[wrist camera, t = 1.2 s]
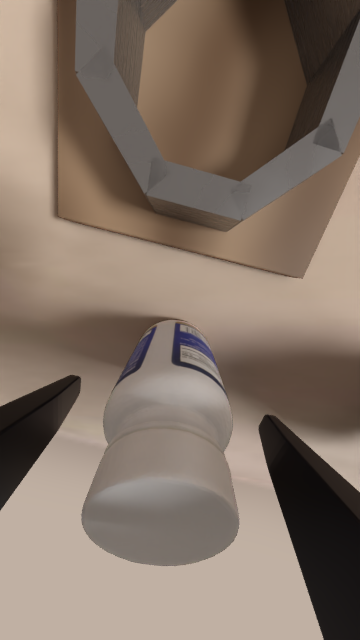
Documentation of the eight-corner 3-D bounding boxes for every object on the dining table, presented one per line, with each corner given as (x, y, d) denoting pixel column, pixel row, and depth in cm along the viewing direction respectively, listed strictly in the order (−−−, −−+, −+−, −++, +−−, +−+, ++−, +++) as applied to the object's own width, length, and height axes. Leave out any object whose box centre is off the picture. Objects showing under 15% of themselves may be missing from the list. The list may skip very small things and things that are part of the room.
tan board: (421, -17, 7) (460, -62, 6) (291, 277, 11) (302, 278, 10) (76, -149, 6) (56, -225, 5) (70, 220, 10) (57, 216, 9)
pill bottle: (151, 385, 14) (99, 584, 5) (129, 327, 12) (4, 477, 4) (215, 373, 13) (274, 570, 5) (202, 310, 11) (255, 439, 3)
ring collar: (378, -26, 6) (501, -209, 4) (274, 245, 9) (306, 238, 7) (126, -121, 6) (85, -402, 3) (103, 199, 9) (72, 175, 6)
